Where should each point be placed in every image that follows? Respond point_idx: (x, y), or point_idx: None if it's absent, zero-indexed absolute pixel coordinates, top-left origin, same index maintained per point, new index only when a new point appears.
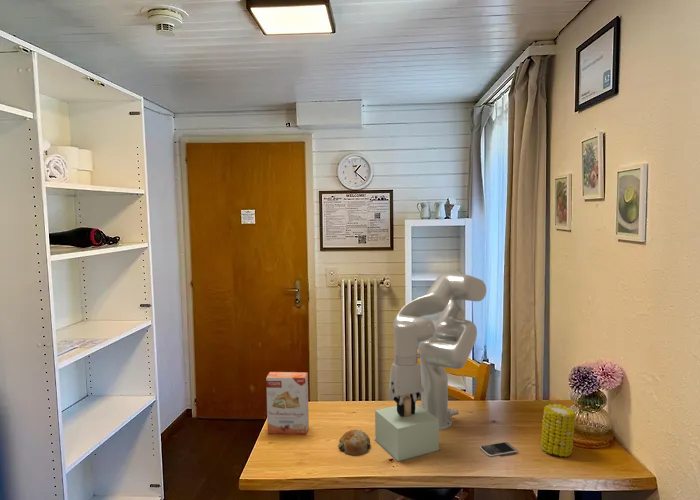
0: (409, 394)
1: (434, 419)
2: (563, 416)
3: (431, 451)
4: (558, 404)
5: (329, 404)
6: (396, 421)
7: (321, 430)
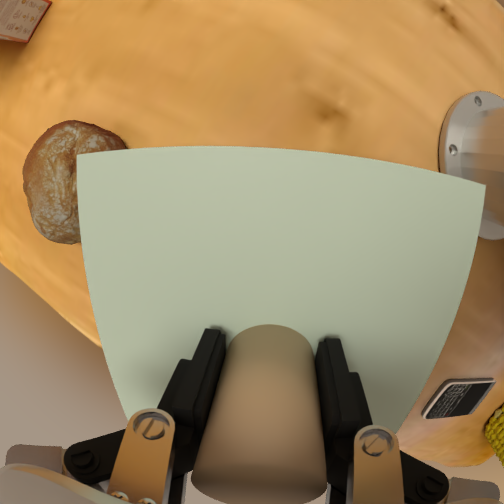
0: (349, 492)
1: None
2: None
3: None
4: None
5: None
6: (150, 390)
7: (65, 20)
